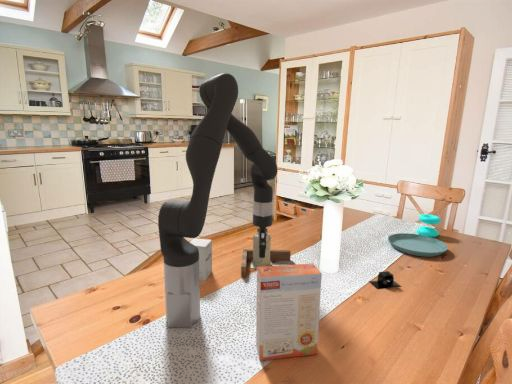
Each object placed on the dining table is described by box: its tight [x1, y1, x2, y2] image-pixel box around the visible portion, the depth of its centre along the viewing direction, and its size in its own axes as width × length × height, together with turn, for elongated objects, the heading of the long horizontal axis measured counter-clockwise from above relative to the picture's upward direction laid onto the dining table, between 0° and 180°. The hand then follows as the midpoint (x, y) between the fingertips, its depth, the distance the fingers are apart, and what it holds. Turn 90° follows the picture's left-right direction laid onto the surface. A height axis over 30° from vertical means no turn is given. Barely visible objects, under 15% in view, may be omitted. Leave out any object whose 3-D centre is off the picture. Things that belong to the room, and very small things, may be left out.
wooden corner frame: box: [240, 248, 292, 278], centre depth 115 cm, size 16×19×4 cm
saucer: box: [387, 232, 448, 258], centre depth 138 cm, size 24×24×3 cm
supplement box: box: [189, 237, 213, 282], centre depth 107 cm, size 7×7×13 cm
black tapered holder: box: [368, 270, 402, 290], centre depth 105 cm, size 12×7×5 cm, turn 102°
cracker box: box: [255, 263, 322, 361], centre depth 71 cm, size 14×6×21 cm, turn 99°
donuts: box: [416, 213, 442, 238], centre depth 156 cm, size 10×10×10 cm
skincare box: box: [252, 233, 272, 267], centre depth 116 cm, size 6×4×12 cm
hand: (261, 252), depth 117 cm, fingers open, 8 cm apart
